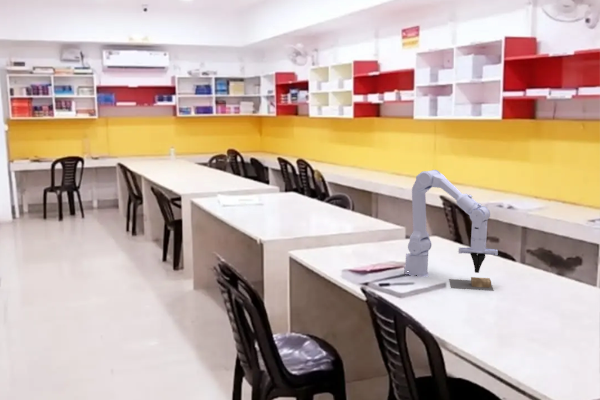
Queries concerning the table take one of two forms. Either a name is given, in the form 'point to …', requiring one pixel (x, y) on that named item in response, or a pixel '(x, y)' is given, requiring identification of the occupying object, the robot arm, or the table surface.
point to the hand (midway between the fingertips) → (476, 272)
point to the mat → (466, 285)
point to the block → (480, 282)
